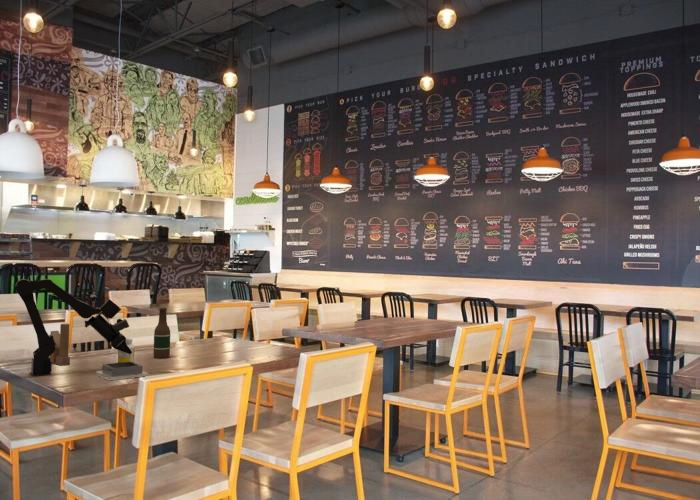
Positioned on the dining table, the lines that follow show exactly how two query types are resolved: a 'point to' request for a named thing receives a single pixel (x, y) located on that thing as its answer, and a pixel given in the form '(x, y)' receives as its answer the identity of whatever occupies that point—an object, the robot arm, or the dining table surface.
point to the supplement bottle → (125, 356)
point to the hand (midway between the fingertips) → (129, 351)
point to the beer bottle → (162, 336)
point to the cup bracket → (121, 371)
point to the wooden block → (61, 346)
